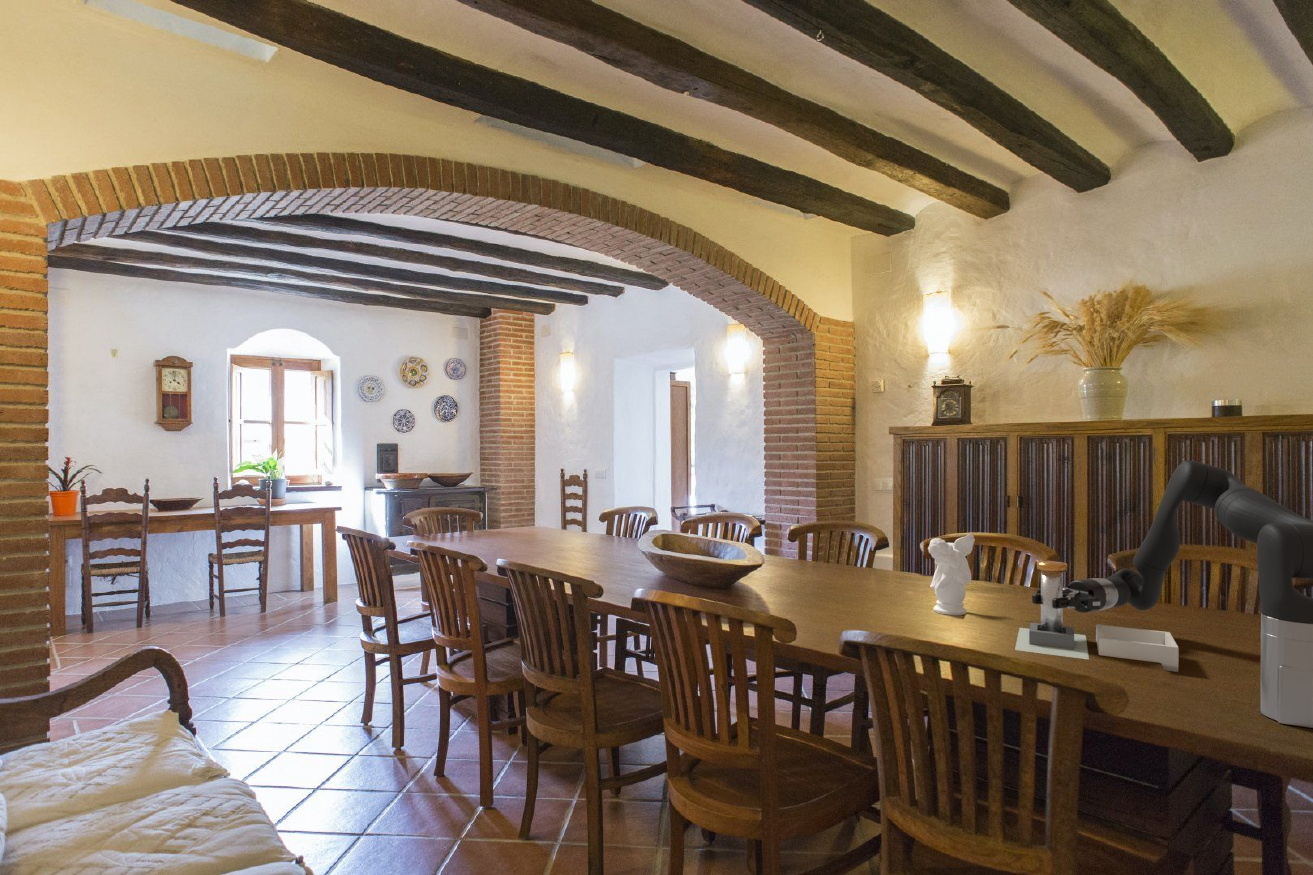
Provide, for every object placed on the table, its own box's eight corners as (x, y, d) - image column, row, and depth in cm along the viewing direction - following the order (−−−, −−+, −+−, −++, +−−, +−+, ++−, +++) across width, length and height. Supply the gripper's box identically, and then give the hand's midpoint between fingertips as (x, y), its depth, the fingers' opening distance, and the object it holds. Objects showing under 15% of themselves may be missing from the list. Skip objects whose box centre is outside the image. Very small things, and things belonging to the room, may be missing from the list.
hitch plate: (1088, 666, 155) (1089, 645, 155) (1014, 656, 162) (1014, 636, 162) (1085, 641, 174) (1085, 622, 174) (1019, 633, 181) (1019, 615, 181)
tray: (1178, 671, 152) (1178, 647, 152) (1098, 661, 159) (1099, 638, 159) (1169, 654, 164) (1169, 632, 164) (1096, 645, 171) (1096, 624, 171)
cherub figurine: (929, 614, 201) (928, 533, 202) (927, 604, 213) (926, 528, 213) (977, 617, 198) (976, 534, 198) (973, 607, 209) (972, 529, 210)
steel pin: (1066, 647, 164) (1067, 566, 164) (1036, 643, 167) (1036, 563, 167) (1066, 640, 169) (1066, 562, 169) (1037, 637, 172) (1037, 559, 172)
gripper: (1063, 573, 181) (1015, 579, 173) (1122, 584, 168) (1073, 590, 161) (1063, 604, 181) (1015, 611, 173) (1122, 617, 168) (1073, 625, 160)
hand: (1044, 601), depth 167 cm, fingers closed on steel pin, 4 cm apart
